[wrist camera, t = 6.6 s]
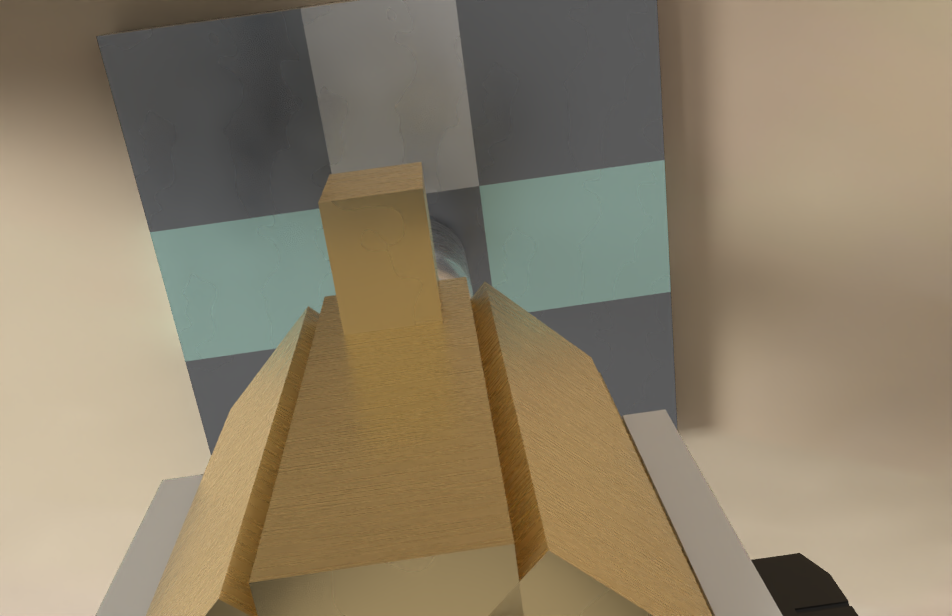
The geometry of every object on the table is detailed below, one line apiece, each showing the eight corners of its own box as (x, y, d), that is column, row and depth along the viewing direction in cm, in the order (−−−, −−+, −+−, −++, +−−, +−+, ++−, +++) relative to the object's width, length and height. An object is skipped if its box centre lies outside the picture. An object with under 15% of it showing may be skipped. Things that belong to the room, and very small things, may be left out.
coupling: (167, 196, 15) (-68, 416, 8) (581, 139, 15) (743, 302, 8) (300, 706, 19) (230, 1169, 12) (622, 658, 19) (754, 1084, 12)
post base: (113, 33, 26) (-17, 60, 18) (642, -40, 26) (740, -43, 19) (234, 487, 32) (176, 657, 24) (666, 423, 32) (749, 571, 24)
